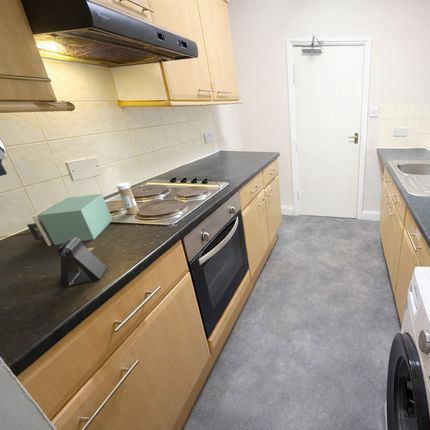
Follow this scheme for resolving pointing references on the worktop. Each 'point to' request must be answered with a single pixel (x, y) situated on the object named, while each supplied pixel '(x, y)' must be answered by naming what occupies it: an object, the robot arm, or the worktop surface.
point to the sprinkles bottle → (127, 198)
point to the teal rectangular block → (76, 218)
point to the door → (41, 227)
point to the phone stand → (78, 264)
